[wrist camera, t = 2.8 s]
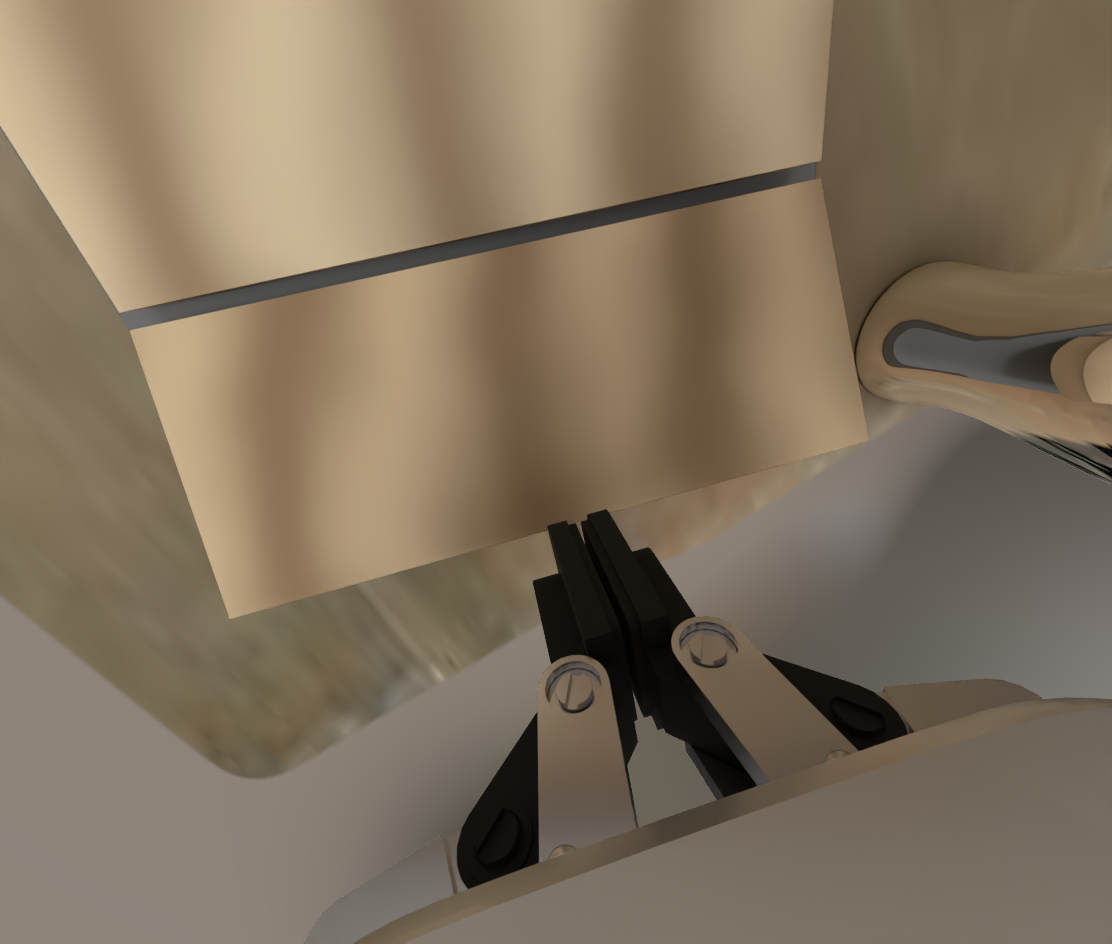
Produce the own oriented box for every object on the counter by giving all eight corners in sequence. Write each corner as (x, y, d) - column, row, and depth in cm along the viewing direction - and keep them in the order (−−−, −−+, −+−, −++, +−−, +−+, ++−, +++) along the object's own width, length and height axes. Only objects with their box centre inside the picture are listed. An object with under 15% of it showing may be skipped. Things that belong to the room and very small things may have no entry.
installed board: (811, -239, 11) (857, -306, 10) (790, 168, 15) (821, 160, 14) (-104, -119, 9) (-195, -181, 8) (152, 307, 14) (119, 312, 12)
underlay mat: (836, -259, 12) (847, -275, 11) (790, 426, 21) (796, 429, 20) (-152, -132, 10) (-176, -148, 9) (284, 563, 19) (281, 569, 18)
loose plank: (791, 202, 16) (820, 178, 14) (837, 440, 17) (869, 440, 15) (170, 342, 14) (129, 330, 13) (258, 601, 15) (230, 618, 13)
